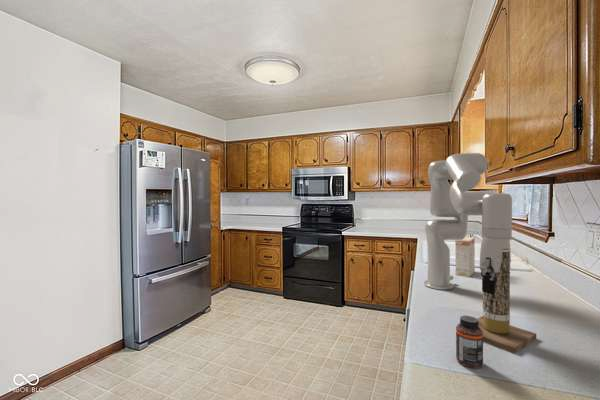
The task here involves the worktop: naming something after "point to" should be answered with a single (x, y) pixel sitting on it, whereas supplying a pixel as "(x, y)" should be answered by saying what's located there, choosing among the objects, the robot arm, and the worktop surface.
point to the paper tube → (498, 299)
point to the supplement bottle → (469, 342)
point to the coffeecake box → (465, 256)
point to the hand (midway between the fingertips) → (496, 289)
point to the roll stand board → (508, 338)
